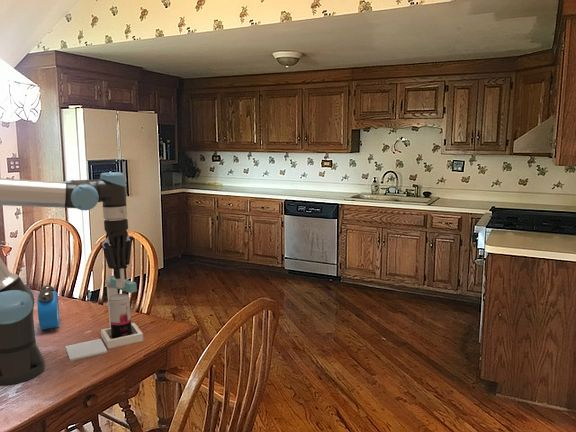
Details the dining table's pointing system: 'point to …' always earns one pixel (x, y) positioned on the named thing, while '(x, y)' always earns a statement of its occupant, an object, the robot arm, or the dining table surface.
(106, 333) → the grey frame with post
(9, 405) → the dining table surface
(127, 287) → the bar
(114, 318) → the beverage can
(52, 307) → the alarm clock
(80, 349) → the mat
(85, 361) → the dining table surface
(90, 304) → the dining table surface
